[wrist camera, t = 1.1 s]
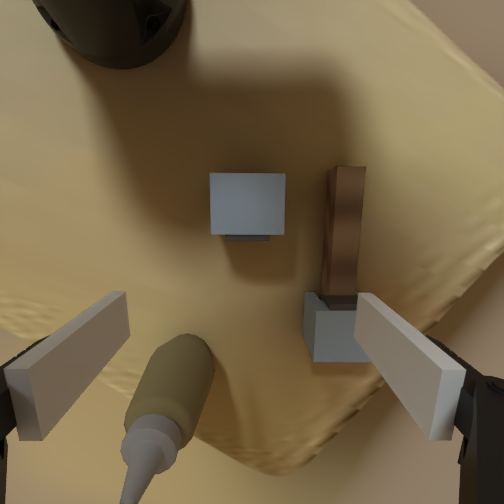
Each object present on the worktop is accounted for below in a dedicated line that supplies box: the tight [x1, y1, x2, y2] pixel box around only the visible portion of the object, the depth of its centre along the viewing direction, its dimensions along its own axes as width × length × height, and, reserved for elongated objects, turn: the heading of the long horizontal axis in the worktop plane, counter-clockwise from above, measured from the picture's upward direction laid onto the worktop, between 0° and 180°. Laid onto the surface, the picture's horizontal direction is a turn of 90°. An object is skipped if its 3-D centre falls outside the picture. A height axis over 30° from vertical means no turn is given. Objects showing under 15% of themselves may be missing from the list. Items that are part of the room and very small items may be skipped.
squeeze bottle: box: [120, 334, 215, 504], centre depth 27 cm, size 8×8×18 cm
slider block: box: [303, 292, 372, 362], centre depth 31 cm, size 7×7×6 cm
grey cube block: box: [210, 173, 286, 241], centre depth 29 cm, size 7×7×6 cm
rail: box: [320, 166, 366, 300], centre depth 32 cm, size 22×3×4 cm, turn 0°
